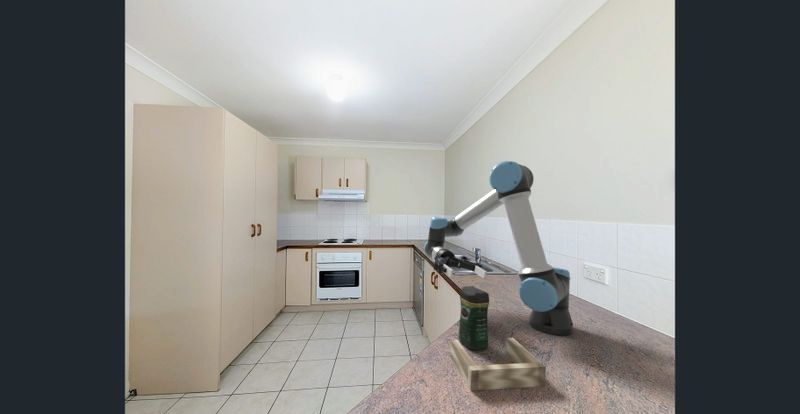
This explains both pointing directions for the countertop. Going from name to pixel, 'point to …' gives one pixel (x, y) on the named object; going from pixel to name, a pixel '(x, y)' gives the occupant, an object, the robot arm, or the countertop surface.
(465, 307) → the coffee jar
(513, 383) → the u-shaped wooden molding
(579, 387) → the countertop surface
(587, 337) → the countertop surface
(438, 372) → the countertop surface
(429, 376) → the countertop surface
